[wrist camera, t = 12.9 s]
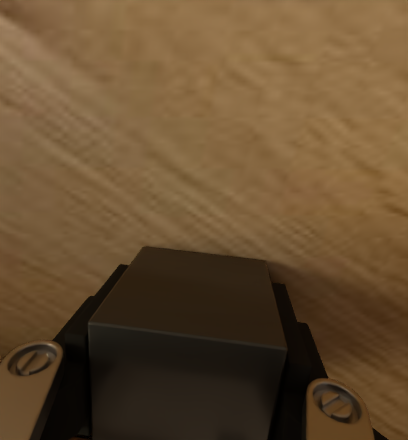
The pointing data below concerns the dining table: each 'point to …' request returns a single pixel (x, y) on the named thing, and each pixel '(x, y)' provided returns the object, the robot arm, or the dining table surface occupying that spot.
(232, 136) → the dining table surface
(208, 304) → the block
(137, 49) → the dining table surface
